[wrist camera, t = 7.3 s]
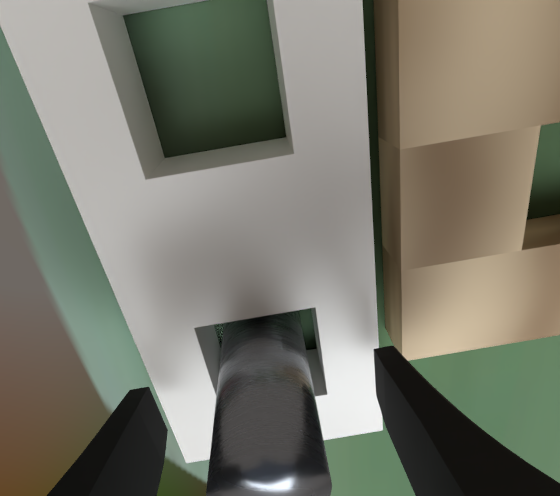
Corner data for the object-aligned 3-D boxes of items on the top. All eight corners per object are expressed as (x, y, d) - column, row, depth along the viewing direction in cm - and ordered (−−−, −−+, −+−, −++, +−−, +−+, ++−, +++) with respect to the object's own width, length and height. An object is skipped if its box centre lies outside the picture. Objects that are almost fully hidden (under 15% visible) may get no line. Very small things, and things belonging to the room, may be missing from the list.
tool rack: (328, -145, 9) (351, -211, 7) (365, 382, 17) (382, 430, 15) (8, -88, 9) (-68, -136, 7) (194, 411, 17) (186, 463, 15)
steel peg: (295, 280, 15) (329, 443, 8) (301, 340, 16) (333, 519, 10) (219, 289, 15) (194, 460, 8) (230, 348, 16) (218, 535, 10)
